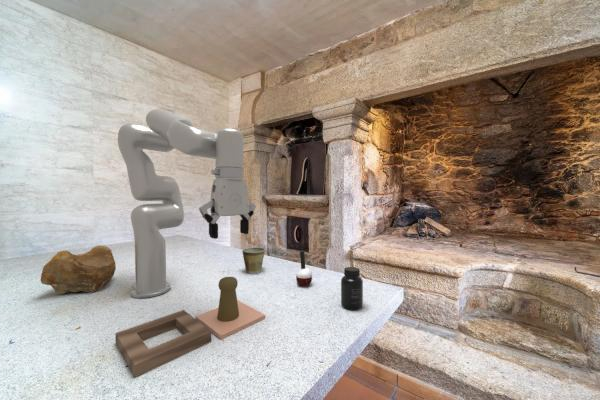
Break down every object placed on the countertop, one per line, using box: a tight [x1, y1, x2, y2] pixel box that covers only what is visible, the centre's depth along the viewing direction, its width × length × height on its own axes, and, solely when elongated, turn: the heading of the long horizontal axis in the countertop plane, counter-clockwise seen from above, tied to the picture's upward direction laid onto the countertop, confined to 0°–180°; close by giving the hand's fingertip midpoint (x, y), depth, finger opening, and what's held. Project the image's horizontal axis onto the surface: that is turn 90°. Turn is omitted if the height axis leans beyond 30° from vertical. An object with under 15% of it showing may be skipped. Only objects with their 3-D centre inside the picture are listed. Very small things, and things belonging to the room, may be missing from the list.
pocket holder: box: [115, 309, 212, 378], centre depth 60 cm, size 16×16×2 cm
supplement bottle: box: [340, 266, 364, 311], centre depth 80 cm, size 7×7×12 cm
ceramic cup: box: [242, 246, 266, 275], centre depth 114 cm, size 13×10×10 cm
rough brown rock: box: [40, 245, 117, 295], centre depth 93 cm, size 23×17×15 cm
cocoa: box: [295, 250, 313, 288], centre depth 97 cm, size 10×6×12 cm, turn 168°
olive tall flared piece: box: [217, 276, 239, 322], centre depth 71 cm, size 6×6×11 cm
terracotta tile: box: [195, 299, 266, 340], centre depth 71 cm, size 14×14×1 cm
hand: (229, 235), depth 70 cm, fingers open, 9 cm apart
